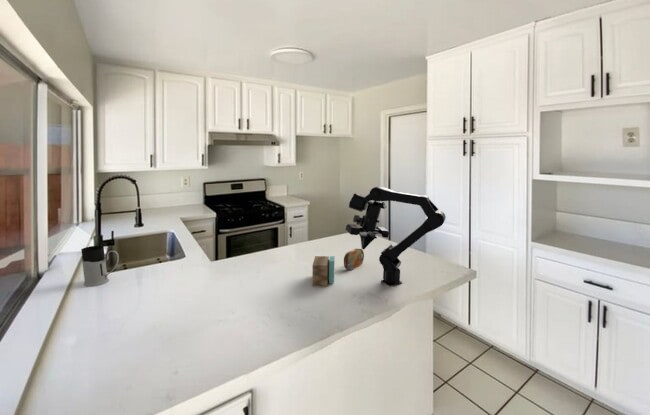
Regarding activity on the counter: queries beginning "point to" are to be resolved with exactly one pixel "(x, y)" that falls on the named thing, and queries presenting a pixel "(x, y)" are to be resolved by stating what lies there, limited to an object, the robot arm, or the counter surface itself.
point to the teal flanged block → (331, 269)
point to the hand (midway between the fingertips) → (362, 249)
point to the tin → (353, 259)
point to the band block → (321, 271)
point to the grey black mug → (95, 265)
